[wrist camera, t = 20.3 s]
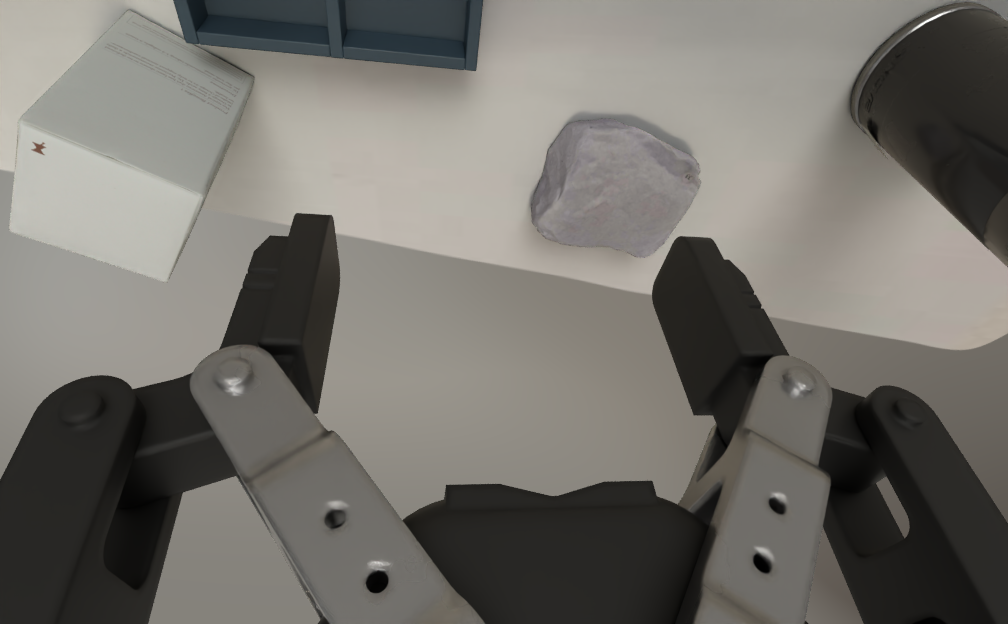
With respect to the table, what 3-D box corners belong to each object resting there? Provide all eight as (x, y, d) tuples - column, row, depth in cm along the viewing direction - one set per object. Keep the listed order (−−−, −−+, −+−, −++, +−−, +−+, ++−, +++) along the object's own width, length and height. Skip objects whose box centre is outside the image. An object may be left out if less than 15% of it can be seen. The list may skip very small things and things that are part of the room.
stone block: (560, 96, 38) (520, 218, 44) (579, 117, 35) (534, 248, 40) (696, 131, 42) (643, 239, 48) (727, 153, 38) (666, 268, 44)
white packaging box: (104, 106, 34) (-1, 232, 26) (128, 4, 30) (12, 114, 22) (224, 162, 38) (166, 288, 30) (260, 78, 34) (205, 197, 25)
